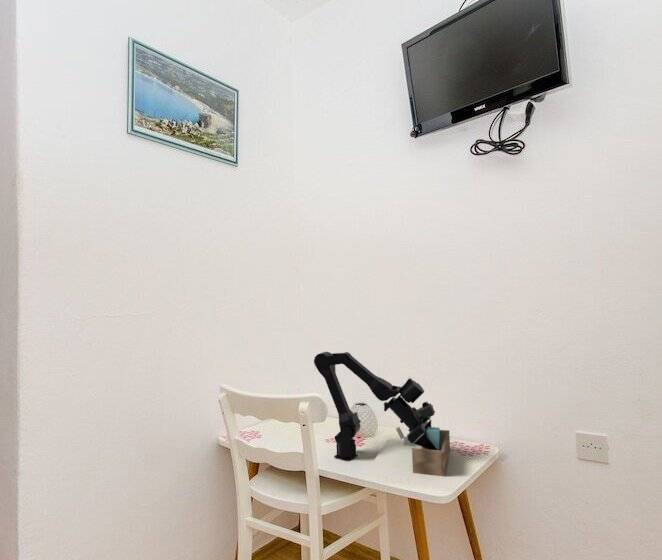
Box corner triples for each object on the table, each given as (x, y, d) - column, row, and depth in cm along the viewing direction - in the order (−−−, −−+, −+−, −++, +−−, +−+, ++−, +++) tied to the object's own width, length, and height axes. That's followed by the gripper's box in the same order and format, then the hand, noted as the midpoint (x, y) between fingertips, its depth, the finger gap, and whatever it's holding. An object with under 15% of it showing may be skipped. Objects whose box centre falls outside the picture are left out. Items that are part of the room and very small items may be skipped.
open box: (413, 477, 135) (412, 449, 135) (422, 452, 156) (421, 428, 157) (445, 481, 131) (444, 452, 132) (450, 455, 153) (449, 430, 154)
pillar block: (427, 463, 143) (426, 430, 143) (428, 458, 146) (427, 426, 147) (439, 464, 141) (438, 431, 142) (440, 460, 145) (439, 427, 146)
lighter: (415, 448, 162) (414, 427, 162) (415, 449, 160) (414, 428, 160) (396, 447, 163) (396, 426, 163) (396, 449, 161) (395, 427, 162)
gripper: (416, 402, 138) (452, 439, 133) (423, 390, 155) (455, 423, 151) (393, 425, 140) (428, 462, 136) (403, 411, 157) (434, 443, 153)
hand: (437, 446), depth 144 cm, fingers open, 9 cm apart
